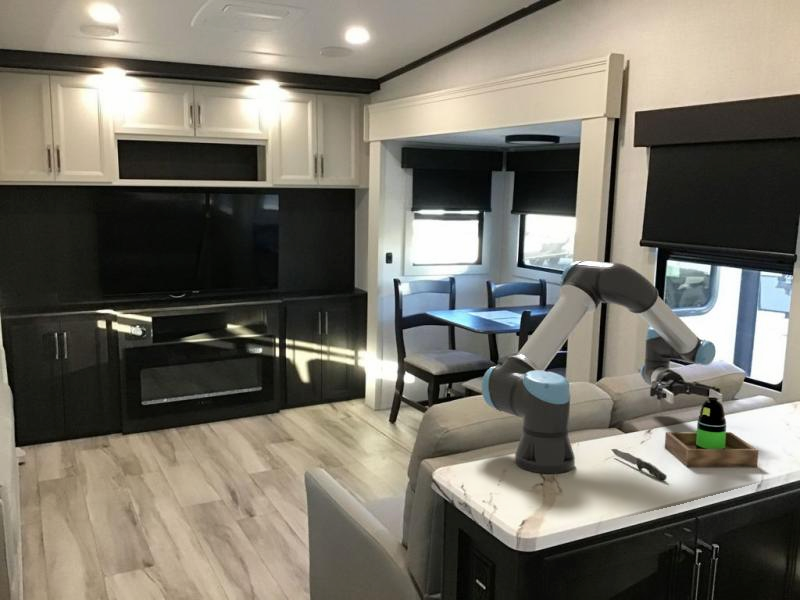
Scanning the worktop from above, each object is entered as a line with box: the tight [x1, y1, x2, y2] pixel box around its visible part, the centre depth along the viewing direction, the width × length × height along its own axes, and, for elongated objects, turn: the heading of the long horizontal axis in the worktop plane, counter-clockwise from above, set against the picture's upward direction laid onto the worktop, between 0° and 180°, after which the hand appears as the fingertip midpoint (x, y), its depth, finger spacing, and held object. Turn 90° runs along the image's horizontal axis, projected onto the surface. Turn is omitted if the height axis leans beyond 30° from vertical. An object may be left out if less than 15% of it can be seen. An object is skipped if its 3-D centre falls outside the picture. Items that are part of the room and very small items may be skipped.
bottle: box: [696, 397, 727, 449], centre depth 184 cm, size 7×7×15 cm
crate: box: [664, 431, 759, 468], centre depth 185 cm, size 18×15×4 cm
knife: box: [611, 448, 668, 481], centre depth 177 cm, size 20×1×3 cm, turn 22°
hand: (696, 399), depth 194 cm, fingers open, 13 cm apart
